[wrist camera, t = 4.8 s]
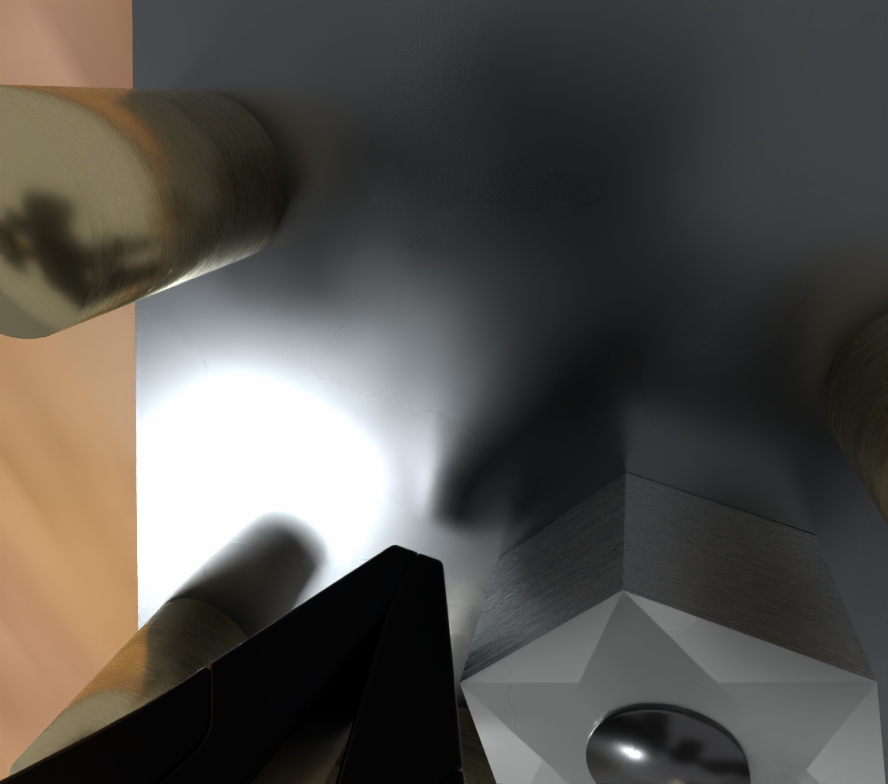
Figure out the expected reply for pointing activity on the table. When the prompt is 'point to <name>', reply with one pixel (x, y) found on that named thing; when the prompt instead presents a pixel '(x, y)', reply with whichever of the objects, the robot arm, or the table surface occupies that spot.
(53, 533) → the table surface
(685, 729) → the nut
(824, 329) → the spacer plate
